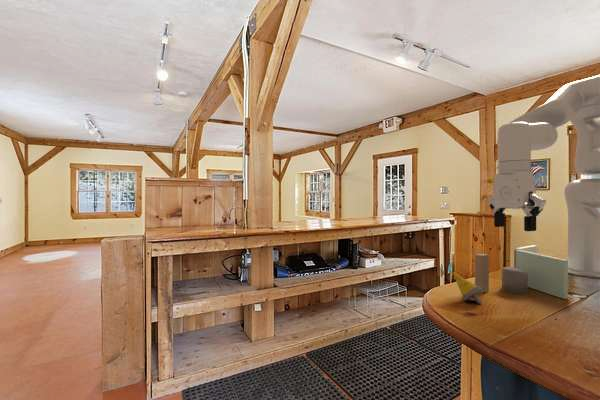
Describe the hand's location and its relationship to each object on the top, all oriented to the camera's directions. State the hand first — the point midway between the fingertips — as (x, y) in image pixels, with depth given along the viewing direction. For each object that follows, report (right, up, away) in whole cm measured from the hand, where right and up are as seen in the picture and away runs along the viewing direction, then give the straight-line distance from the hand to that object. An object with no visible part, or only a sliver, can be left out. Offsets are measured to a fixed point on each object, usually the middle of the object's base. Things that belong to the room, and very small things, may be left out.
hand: (514, 228), depth 85 cm
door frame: (+3, -17, +6) cm, 19 cm away
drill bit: (-17, -19, -7) cm, 26 cm away
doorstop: (+1, -18, +1) cm, 18 cm away
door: (+7, -17, +1) cm, 19 cm away
